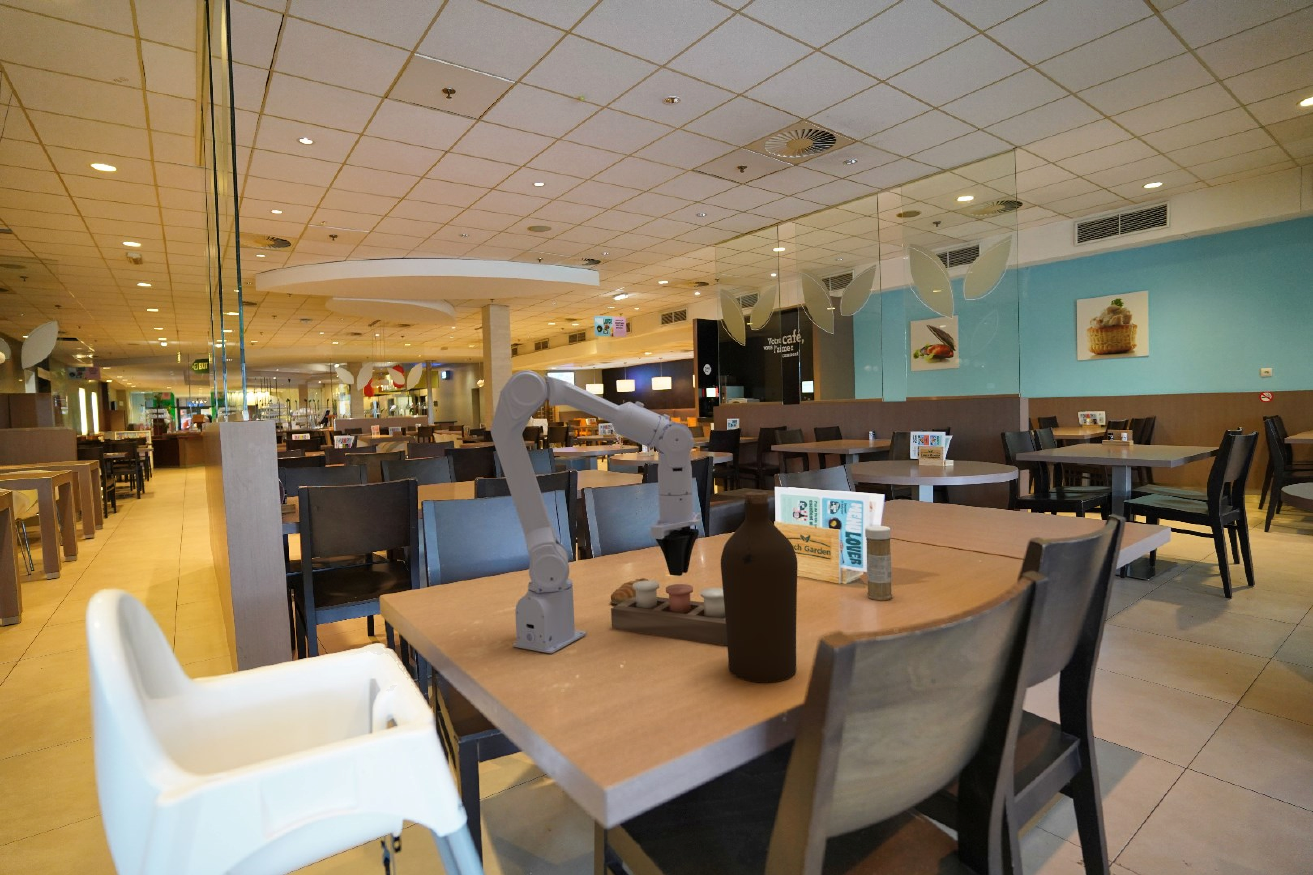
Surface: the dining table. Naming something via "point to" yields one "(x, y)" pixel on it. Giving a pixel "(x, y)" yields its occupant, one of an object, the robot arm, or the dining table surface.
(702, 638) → the plug block
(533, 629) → the robot arm
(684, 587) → the red plug
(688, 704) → the dining table surface
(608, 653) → the dining table surface
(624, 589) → the pastry
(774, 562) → the olive oil
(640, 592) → the cream plug
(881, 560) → the sprinkles bottle
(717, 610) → the cream plug
